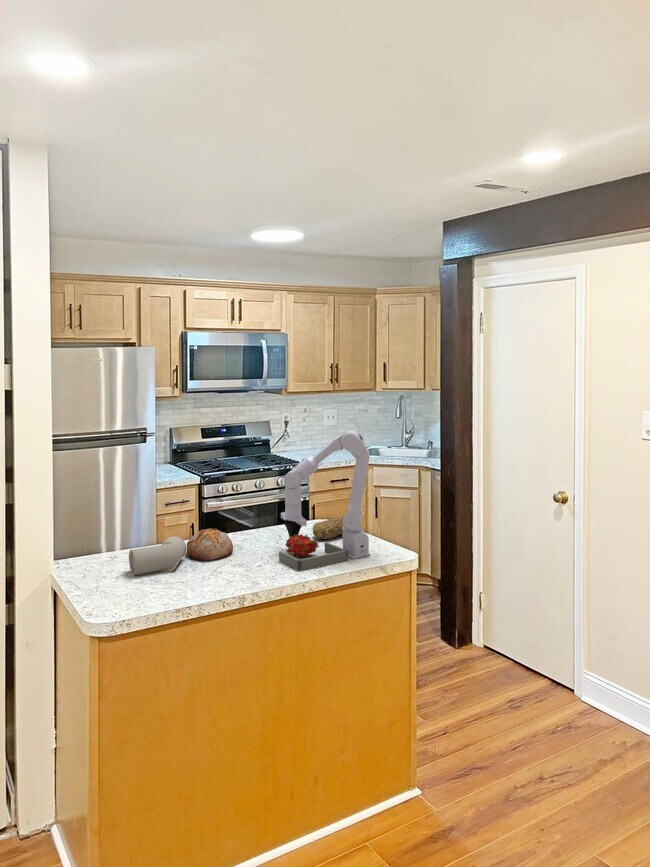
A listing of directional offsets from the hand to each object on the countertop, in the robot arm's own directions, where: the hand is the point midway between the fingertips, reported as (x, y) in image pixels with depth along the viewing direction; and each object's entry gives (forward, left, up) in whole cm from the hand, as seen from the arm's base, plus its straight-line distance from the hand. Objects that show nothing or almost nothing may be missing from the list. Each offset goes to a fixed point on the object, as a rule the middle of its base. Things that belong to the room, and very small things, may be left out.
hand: (293, 541), depth 252 cm
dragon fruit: (-6, 0, -4) cm, 7 cm away
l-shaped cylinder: (+11, +47, -4) cm, 48 cm away
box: (-13, 0, -4) cm, 14 cm away
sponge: (+9, -24, -4) cm, 26 cm away
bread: (+16, +25, -4) cm, 30 cm away
